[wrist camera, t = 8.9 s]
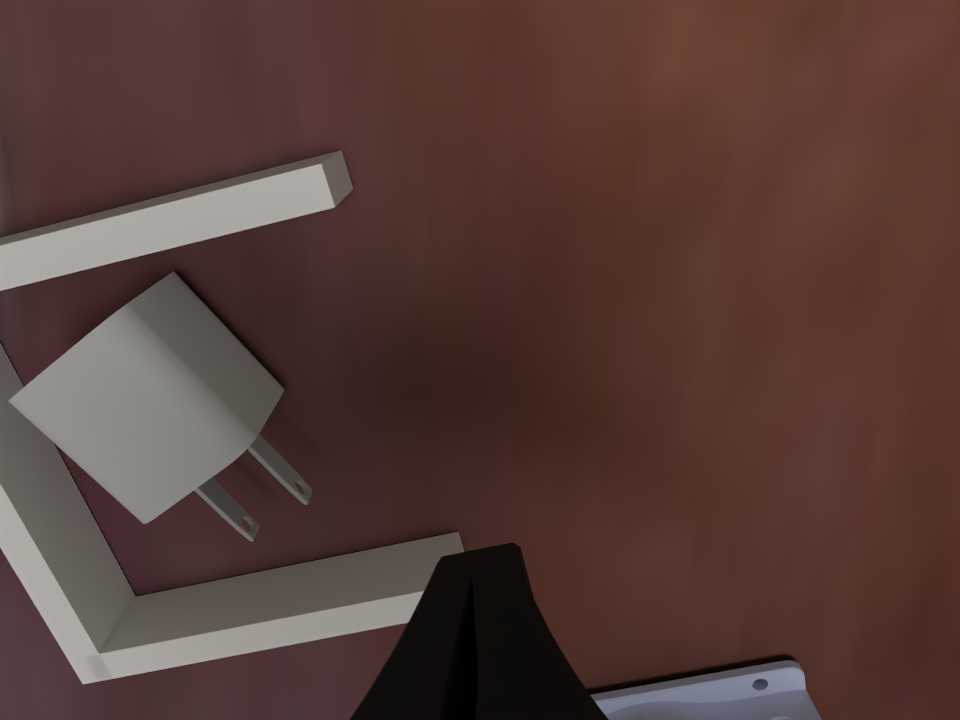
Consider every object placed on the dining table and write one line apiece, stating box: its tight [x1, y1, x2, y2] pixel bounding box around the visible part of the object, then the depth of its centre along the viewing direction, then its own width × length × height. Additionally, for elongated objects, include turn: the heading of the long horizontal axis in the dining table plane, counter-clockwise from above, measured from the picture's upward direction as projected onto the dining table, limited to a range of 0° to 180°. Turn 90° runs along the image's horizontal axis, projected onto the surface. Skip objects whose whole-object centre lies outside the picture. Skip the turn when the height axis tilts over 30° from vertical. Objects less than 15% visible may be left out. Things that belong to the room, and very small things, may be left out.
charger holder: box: [0, 150, 465, 684], centre depth 20 cm, size 12×13×2 cm
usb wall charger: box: [8, 271, 313, 542], centre depth 20 cm, size 4×7×4 cm, turn 37°
